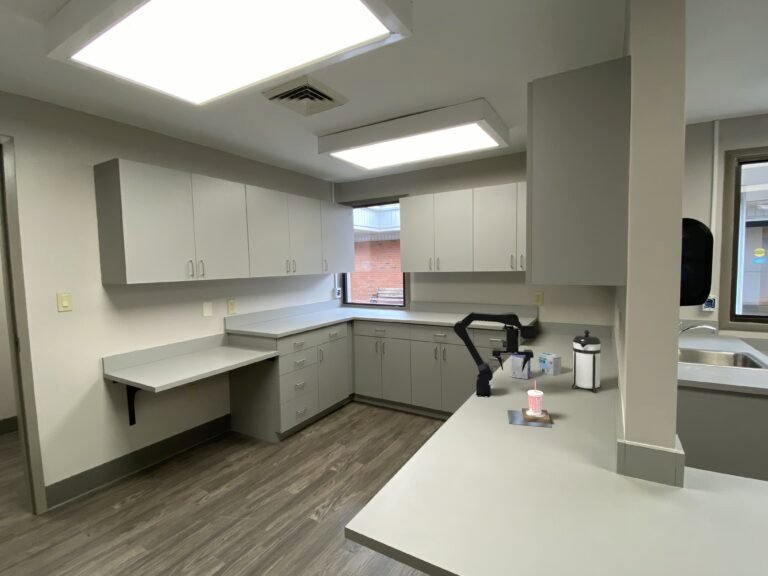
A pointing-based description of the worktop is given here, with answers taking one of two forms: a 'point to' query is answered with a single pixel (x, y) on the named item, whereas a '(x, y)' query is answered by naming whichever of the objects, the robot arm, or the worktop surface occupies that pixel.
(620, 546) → the worktop surface
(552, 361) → the light bulb box
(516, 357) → the ink cartridge box
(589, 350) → the coffee press
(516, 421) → the blueprint plinth
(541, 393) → the beverage cup
